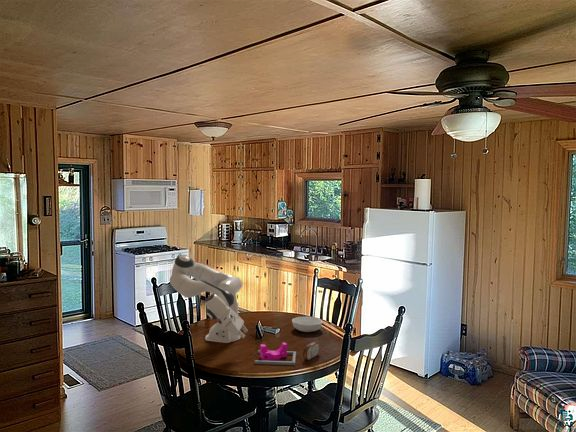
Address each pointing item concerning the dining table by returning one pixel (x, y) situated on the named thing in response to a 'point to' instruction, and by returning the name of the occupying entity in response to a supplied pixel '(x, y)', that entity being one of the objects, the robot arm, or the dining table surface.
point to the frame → (278, 361)
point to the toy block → (273, 352)
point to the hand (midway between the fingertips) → (245, 334)
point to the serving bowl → (307, 324)
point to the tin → (311, 350)
